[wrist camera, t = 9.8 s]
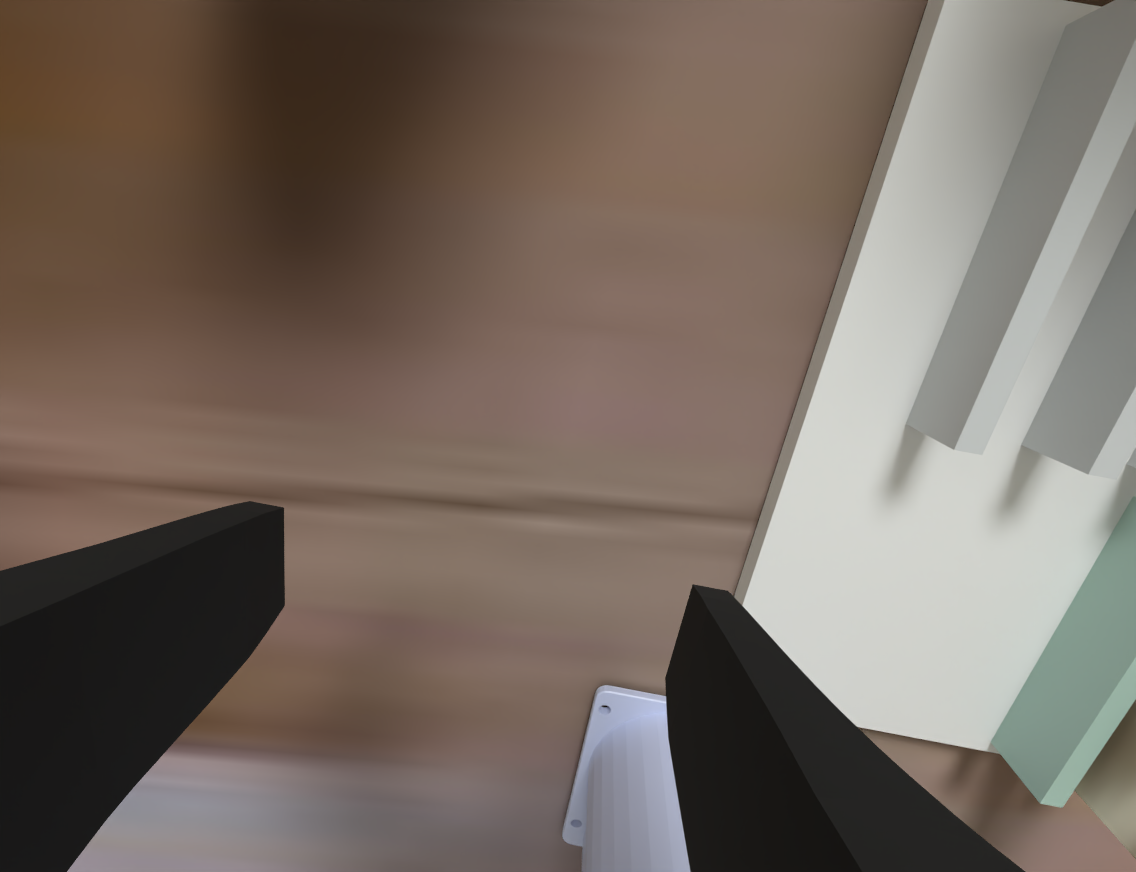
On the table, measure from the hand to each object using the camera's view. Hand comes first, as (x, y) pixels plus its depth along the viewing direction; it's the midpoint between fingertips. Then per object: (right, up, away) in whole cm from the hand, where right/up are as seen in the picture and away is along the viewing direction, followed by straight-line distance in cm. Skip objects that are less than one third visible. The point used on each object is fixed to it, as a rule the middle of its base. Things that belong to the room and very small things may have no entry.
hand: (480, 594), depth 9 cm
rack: (+18, +2, +9) cm, 20 cm away
